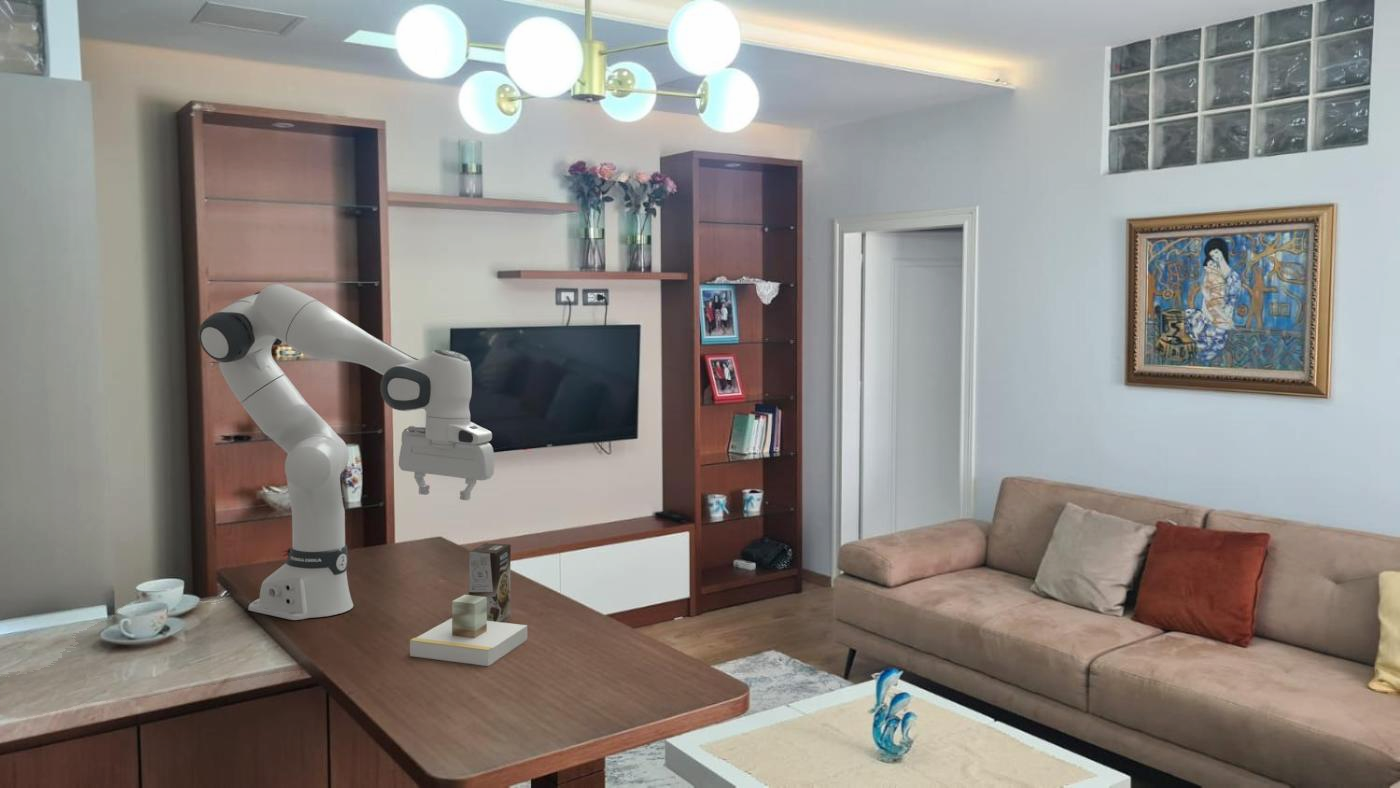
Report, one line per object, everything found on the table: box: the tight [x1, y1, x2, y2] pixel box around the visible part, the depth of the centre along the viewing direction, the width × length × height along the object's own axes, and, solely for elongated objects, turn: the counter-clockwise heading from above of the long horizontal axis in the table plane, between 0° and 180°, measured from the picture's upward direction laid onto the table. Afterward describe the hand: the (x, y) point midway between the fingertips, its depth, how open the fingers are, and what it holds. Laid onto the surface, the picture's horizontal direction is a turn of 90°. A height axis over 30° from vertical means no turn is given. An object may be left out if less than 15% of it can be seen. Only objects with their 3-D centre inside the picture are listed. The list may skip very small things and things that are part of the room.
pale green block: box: [451, 594, 487, 638], centre depth 215 cm, size 5×5×7 cm
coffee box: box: [468, 542, 512, 622], centre depth 234 cm, size 9×6×16 cm
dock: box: [409, 617, 528, 667], centre depth 216 cm, size 17×17×3 cm
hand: (444, 496), depth 220 cm, fingers open, 8 cm apart
